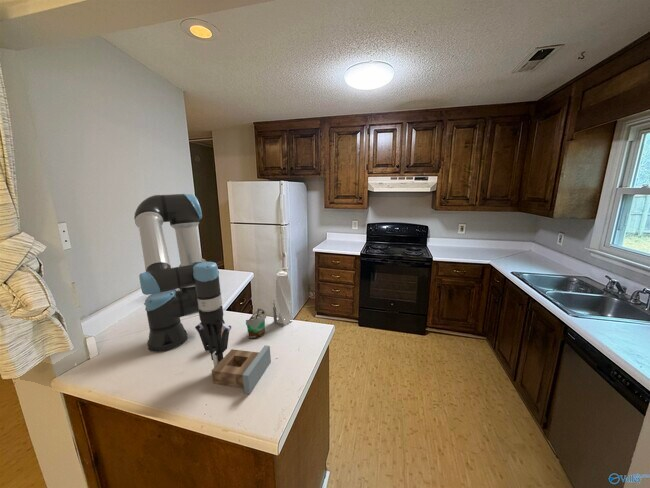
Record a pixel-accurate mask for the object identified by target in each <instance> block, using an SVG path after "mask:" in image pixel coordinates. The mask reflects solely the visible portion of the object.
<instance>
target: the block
mask: <svg viewBox="0 0 650 488" xmlns="http://www.w3.org/2000/svg"><path fill="white" fill-rule="evenodd" d="M259 352H260V351H258V352H257V351H250V350H241V349H240V350H239V349H233V348H232V349H230V350H229V352H228V353H227V354H226V355H225V356H223V359H222V360H221V361H220V362H219V363H218V364H217V365H216V366H215V367H214V366H213V369H211V377H212V383H213V384H214V385H221V386H222V385H223V386H227V387H233V388H239V389H241V388H242V389H244V385H243V376H242V375H243V373H244V372H245V371H246V370H247V368H248V367H249V366H250V364H251V363H252V362H253V360H254V359H255V358H256V356H257V355H258V354H259Z"/></svg>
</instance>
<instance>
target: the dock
mask: <svg viewBox="0 0 650 488" xmlns="http://www.w3.org/2000/svg"><path fill="white" fill-rule="evenodd" d="M258 352H259V354H258V355H257V356H256V358H255V359H254V360H253V362H252V363H251V364H250V366H249V367H248V368H247V370H246V371H245V372H244V373H243V375H242V376H243V385H244V388H243V391H244V392H243V393H244V395H245V394H246V395H251V394H252V392H253V391H254V390H255V387H256V386H257V385H258V383H259V381H260V380H261V378H262V377H263V375H264V374H265V372H266V371H267V369H268V367H270V364H271V363H272V357H271V356H272V355H271V346H270V345H263V347H262V348H261V350H259V351H258Z"/></svg>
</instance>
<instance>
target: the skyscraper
mask: <svg viewBox="0 0 650 488" xmlns="http://www.w3.org/2000/svg"><path fill="white" fill-rule="evenodd" d="M283 269H287V271H283ZM289 270H290V267H287V266H286V267H281V268H278V270H277V271H276V275H275V277H276V279H275V298H276V300H275V301H276V303H275V301H273V303H272V304H273V306H272V311H273V312H272V313H273V315H272V316H273V317H272V318H273V322H272V323H273V324H275V325H277V326H280V327H281V326H282V327H284V326H285V327H286V326H287V325H289V324H291V323H292V322H293V321H290V320H293V318H292V315H291V312H290V307H291V300H292V288H291V287H292V286H291V281H290V279H289V276H288V273H289ZM276 304H277V307H276ZM277 308H278V311H279V312H278V315H277ZM284 319H285V320H284Z"/></svg>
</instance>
